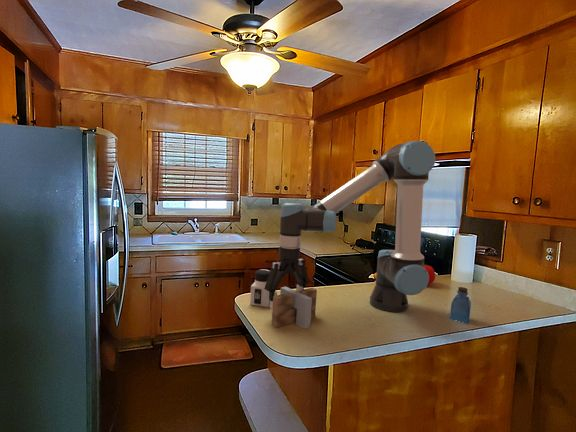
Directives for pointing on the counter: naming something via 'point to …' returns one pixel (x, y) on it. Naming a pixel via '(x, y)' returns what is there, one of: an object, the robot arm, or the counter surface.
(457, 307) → the perfume bottle
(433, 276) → the tomato
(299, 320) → the arch block
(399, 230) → the robot arm
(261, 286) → the container
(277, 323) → the board
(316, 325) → the counter surface
